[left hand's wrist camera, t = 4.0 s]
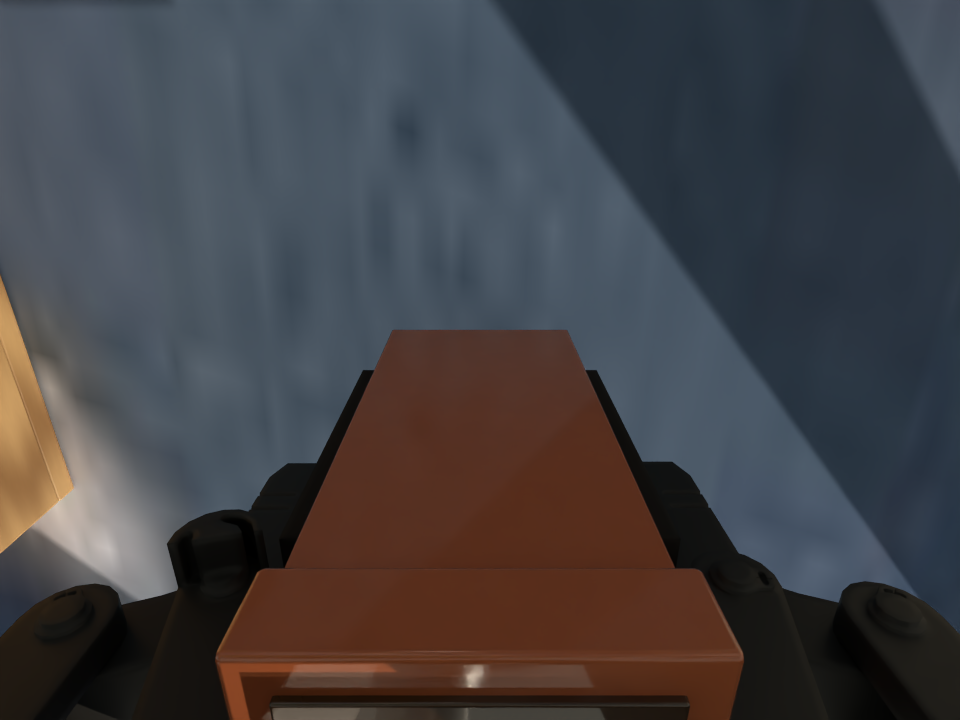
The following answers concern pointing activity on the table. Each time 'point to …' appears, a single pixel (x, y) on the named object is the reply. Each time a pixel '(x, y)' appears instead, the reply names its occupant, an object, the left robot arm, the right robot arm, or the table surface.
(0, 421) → the trug
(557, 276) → the table surface
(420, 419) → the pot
